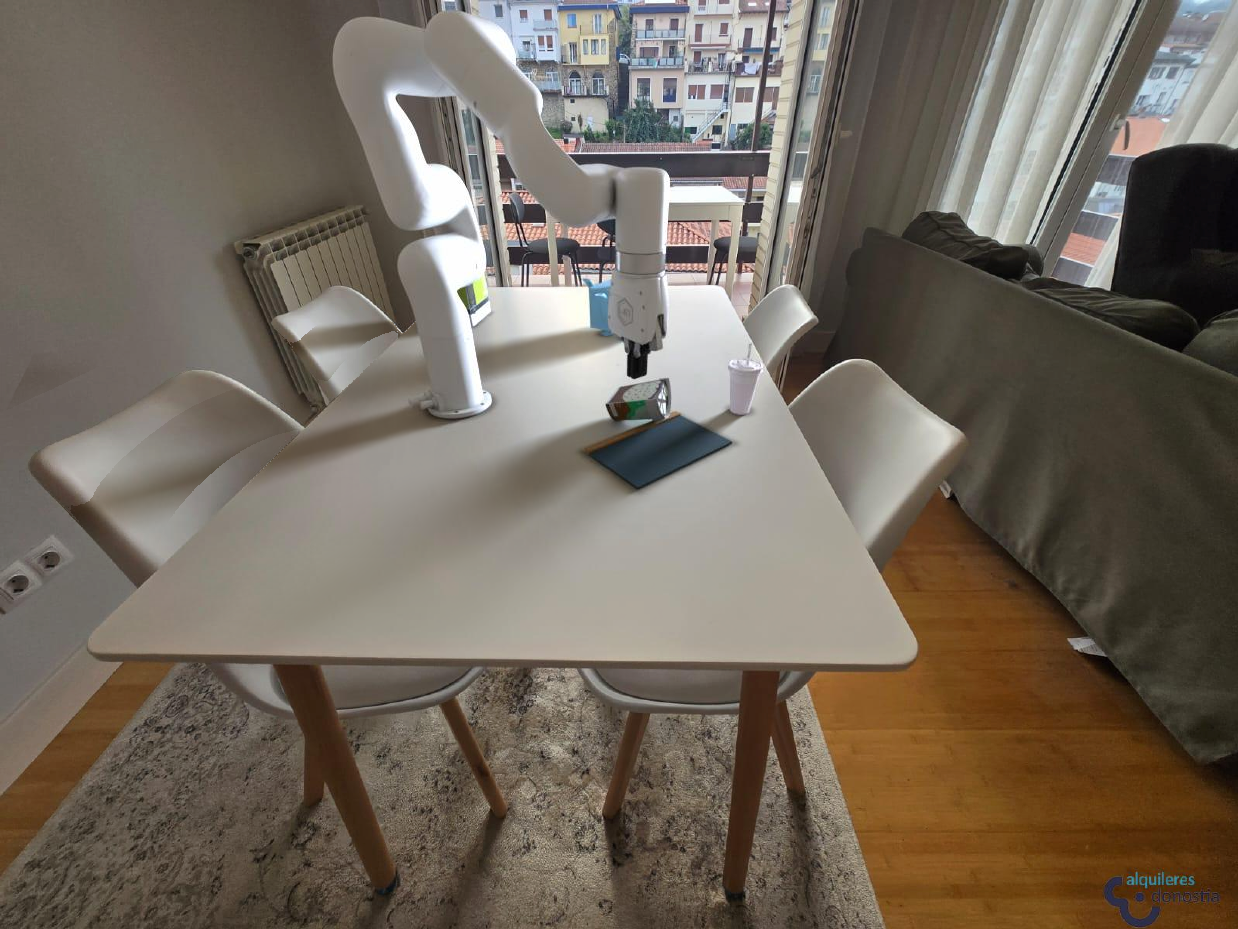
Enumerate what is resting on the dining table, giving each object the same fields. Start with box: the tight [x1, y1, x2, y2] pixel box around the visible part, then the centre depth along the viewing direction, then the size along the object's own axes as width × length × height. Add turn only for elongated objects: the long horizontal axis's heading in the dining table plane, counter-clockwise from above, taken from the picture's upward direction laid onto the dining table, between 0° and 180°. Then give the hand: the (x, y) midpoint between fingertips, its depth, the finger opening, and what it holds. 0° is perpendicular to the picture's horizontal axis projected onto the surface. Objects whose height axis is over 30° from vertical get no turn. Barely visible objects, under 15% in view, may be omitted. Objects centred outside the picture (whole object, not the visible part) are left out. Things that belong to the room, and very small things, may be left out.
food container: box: [605, 377, 672, 422], centre depth 96 cm, size 12×6×10 cm
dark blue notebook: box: [583, 410, 733, 490], centre depth 89 cm, size 22×14×1 cm, turn 129°
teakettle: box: [581, 278, 613, 337], centre depth 137 cm, size 19×19×15 cm
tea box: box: [457, 273, 492, 328], centre depth 149 cm, size 15×10×15 cm, turn 172°
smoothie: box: [727, 342, 764, 416], centre depth 97 cm, size 6×6×14 cm
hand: (636, 375), depth 86 cm, fingers closed
